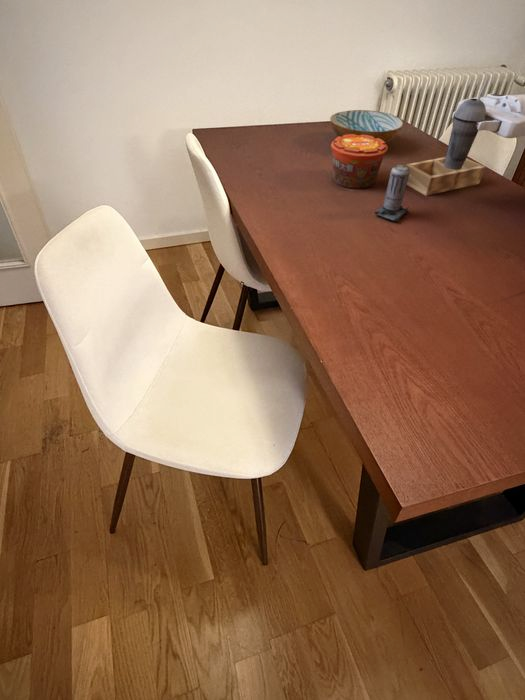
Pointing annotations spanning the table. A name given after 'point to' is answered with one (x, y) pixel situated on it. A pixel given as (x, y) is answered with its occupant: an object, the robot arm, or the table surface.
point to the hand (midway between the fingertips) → (465, 120)
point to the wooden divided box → (442, 176)
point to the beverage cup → (464, 131)
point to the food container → (357, 160)
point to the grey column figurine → (395, 194)
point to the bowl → (366, 124)
